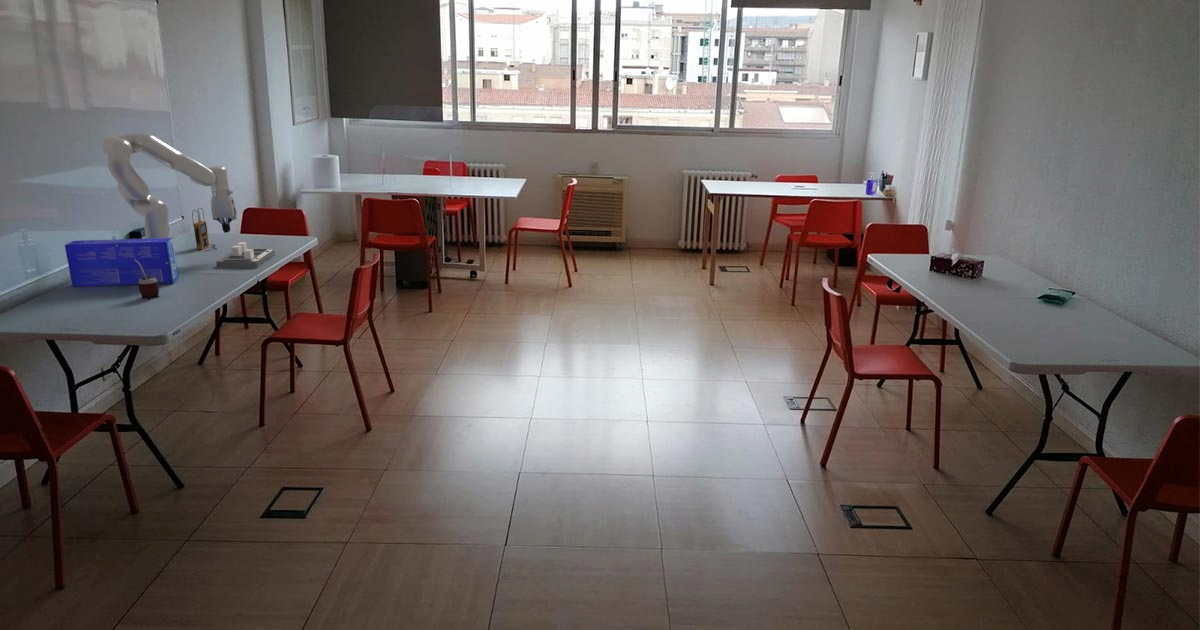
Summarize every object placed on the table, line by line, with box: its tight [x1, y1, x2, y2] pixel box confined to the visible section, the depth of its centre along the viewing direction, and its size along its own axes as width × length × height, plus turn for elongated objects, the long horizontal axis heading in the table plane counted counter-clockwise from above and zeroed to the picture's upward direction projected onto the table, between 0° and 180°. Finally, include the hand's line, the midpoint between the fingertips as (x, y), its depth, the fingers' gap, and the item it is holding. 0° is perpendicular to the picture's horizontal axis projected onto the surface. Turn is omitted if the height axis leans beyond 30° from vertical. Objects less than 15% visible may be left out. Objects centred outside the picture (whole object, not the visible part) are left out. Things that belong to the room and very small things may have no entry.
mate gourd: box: [135, 259, 160, 301], centre depth 321 cm, size 8×8×15 cm
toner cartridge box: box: [64, 237, 179, 288], centre depth 339 cm, size 39×8×18 cm, turn 101°
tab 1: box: [236, 241, 248, 252], centre depth 385 cm, size 4×3×4 cm
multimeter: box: [191, 207, 218, 252], centre depth 401 cm, size 15×10×20 cm
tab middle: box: [230, 244, 242, 255], centre depth 379 cm, size 4×3×4 cm
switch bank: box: [215, 248, 276, 269], centre depth 380 cm, size 24×18×4 cm
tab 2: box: [244, 248, 254, 259], centre depth 372 cm, size 4×3×4 cm
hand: (226, 231), depth 383 cm, fingers closed
